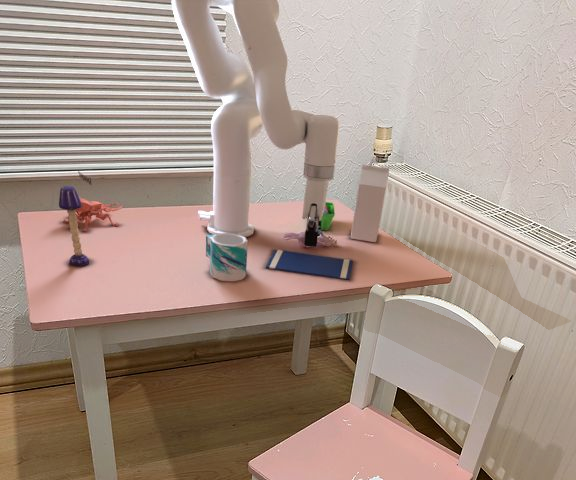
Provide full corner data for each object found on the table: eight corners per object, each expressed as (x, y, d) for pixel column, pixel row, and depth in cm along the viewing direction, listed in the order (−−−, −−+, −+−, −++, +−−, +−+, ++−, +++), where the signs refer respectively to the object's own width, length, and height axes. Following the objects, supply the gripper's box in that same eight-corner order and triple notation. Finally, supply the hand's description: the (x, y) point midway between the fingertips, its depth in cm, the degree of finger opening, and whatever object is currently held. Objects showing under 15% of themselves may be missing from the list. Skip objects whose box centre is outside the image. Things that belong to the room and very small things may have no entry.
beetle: (74, 233, 144) (67, 182, 137) (57, 218, 152) (51, 169, 145) (130, 226, 152) (127, 177, 145) (112, 212, 160) (108, 165, 153)
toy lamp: (68, 267, 127) (58, 191, 118) (65, 259, 131) (54, 184, 122) (91, 265, 130) (82, 190, 120) (86, 257, 133) (78, 183, 124)
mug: (221, 283, 127) (222, 247, 123) (195, 264, 135) (195, 229, 130) (252, 277, 132) (254, 242, 127) (225, 258, 139) (226, 225, 135)
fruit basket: (332, 232, 162) (338, 192, 156) (301, 229, 162) (305, 189, 155) (331, 219, 171) (336, 181, 165) (301, 217, 171) (305, 178, 165)
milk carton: (375, 243, 158) (388, 171, 147) (350, 239, 159) (361, 167, 148) (377, 234, 164) (390, 165, 153) (353, 231, 165) (363, 161, 154)
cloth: (265, 268, 137) (265, 266, 136) (274, 250, 147) (274, 249, 146) (349, 280, 135) (349, 278, 135) (352, 261, 145) (352, 260, 145)
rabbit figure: (326, 245, 157) (277, 240, 150) (332, 224, 154) (283, 218, 147) (337, 253, 152) (287, 249, 145) (343, 231, 149) (293, 226, 142)
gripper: (308, 161, 149) (302, 228, 158) (299, 177, 134) (293, 250, 144) (336, 164, 148) (329, 231, 158) (331, 181, 134) (323, 253, 143)
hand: (312, 240), depth 151 cm, fingers closed on rabbit figure, 7 cm apart
